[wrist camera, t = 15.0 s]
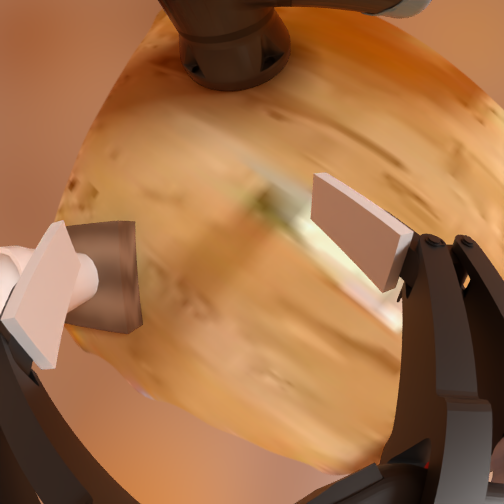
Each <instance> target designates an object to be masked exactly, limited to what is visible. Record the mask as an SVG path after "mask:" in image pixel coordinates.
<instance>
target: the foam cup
mask: <svg viewBox="0 0 504 504" xmlns="http://www.w3.org/2000/svg"><path fill="white" fill-rule="evenodd" d="M34 251H35V249H30V248H25V247H21V246H5V247H0V314H1V312H2V310H3V307H4V306H5V303H6V301H7V299H8V296H9V294H10V292H11V290H12V288H13V287H14V286H15V284H16V283H17V282H18V280H19V278H20V276H21V274H22V272H23V270H24V268H25V267H26V265H27V263H28V261H29V259H30V258H31V256H32V254H33V252H34ZM76 254H77V257H78V259H79V261H80V264H81V266H80V269H79V273H78V276H77V279H76V282H75V285H74V289H73V292H72V295H71V299H70V303H69V306H68V310H67V313H68V312H70V311H71V310H73V309H75V308H76V307H78V306H80V305H81V304H83V303H85V302H86V301H88V300H90V298H92V297H93V296H94V294H95V293H96V292H97V287H98V282H99V280H98V273H97V269H96V267H95V265H94V263H93V261H92V260H91V259H90V258H89V257H88V256H87V255H86V254H82V253H76Z"/></svg>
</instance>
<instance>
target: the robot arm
mask: <svg viewBox="0 0 504 504" xmlns="http://www.w3.org/2000/svg"><path fill="white" fill-rule="evenodd" d="M158 1H159V3H160V4H161V6H162V8H163V9H164V11H165V12H166V14H167V15H168V17H169V18H170V20H171V21H172V23H173V25H174V26H175V28H176V29H177V31H178V33H179V47H180V59H181V62H182V65H183V67H184V68H185V70H186V71H187V73H188V74H189V76H190V77H191V78H192V79H193V80H194V81H195V82H197V83H198V84H200V85H202V86H204V87H207V88H210V89H214V90H220V91H236V90H243V89H248V88H251V87H254V86H257V85H260V84H262V83H264V82H266V81H268V80H270V79H271V78H273V77H274V76H275V75H277V74H278V73H279V72H280V71H281V70H282V69H283V67H284V66H285V65H286V63H287V61H288V59H289V56H290V36H289V33H288V30H287V28H286V27H285V25H284V23H283V22H282V20H281V18H280V17H279V15H278V14H277V12H276V11H275V9H274V7H318V8H331V9H341V10H350V11H357V12H361V13H362V14H366V15H370V16H380V15H381V16H387V17H392V18H409V17H412V16H415V15H417V14H419V13H420V12H422V10H424V9H425V8H426V7H427V6H428V5H429V3H430V2H431V1H432V0H158ZM311 220H312V221H313V222H314V223H315V224H316V225H317V226H319V227H320V228H321V229H322V230H323V231H324V232H325V233H326V234H327V235H328V236H329V237H330V238H331V239H332V240H333V241H334V242H335V243H336V244H337V245H338V246H339V247H340V248H341V249H342V250H343V251H344V252H345V253H346V255H347V256H348V257H349V258H350V259H351V260H352V261H353V262H354V263H355V264H356V265H357V266H358V267H359V268H360V269H361V270H362V271H363V272H364V273H365V274H366V275H367V277H368V278H369V279H370V280H371V281H372V282H373V283H374V284H375V285H376V286H377V287H378V288H379V290H380V291H381V292H382V293H383V292H386V291H389V290H391V289H394V288H395V287H396V285H397V282H398V279H399V276H400V277H401V278H402V279H403V280H404V283H403V286H402V289H401V291H400V294H399V296H398V299H397V302H399V301H400V299H401V298H402V307H403V328H402V356H401V371H400V382H399V391H398V400H397V407H396V414H395V420H394V426H393V431H392V434H391V436H390V438H389V440H388V441H387V443H386V445H385V447H384V450H383V453H382V456H381V460H380V464H379V465H377V466H376V464H375V463H373V464H371V465H369V466H367V467H365V468H363V469H361V470H359V471H357V472H355V473H353V474H350V475H348V476H346V477H344V478H342V479H340V480H338V481H335V482H333V483H331V484H328V485H326V486H324V487H321V488H319V489H317V490H315V491H313V492H312V493H311V494H309V495H307V496H306V497H304V498H303V499H301V500H300V501H298V502H296V503H295V504H504V281H503V280H502V278H501V276H500V275H499V273H498V272H497V270H496V269H495V268H494V266H493V265H492V263H491V262H490V260H489V259H488V258H487V256H486V255H485V253H484V252H483V251H482V249H481V248H480V247H479V245H478V244H477V243H476V242H475V241H474V240H472V239H471V238H470V237H469V236H466V235H465V236H464V235H457V236H456V237H455V240H454V243H453V245H446V243H445V242H444V241H443V240H442V239H440V238H439V237H437V236H434V235H432V234H422V235H421V236H420V235H419V234H417V233H416V232H415V231H413V230H412V229H411V228H409V227H408V226H407V225H405V224H404V223H403V222H401V221H400V220H399V219H397V218H395V217H394V216H393V215H392V214H390V213H389V212H387V211H385V210H383V209H382V208H380V207H379V206H377V205H376V204H374V203H373V202H371V201H370V200H368V199H367V198H365V197H364V196H362V195H361V194H359V193H358V192H356V191H355V190H353V189H352V188H350V187H349V186H347V185H345V184H344V183H342V182H341V181H339V180H337V179H336V178H334V177H333V176H331V175H329V174H328V173H326V172H325V173H314V177H313V193H312V208H311ZM80 266H81V264H80V261H79V259H78V257H77V254H76V252H75V249H74V247H73V245H72V242H71V239H70V237H69V234H68V232H67V229H66V226H65V223H64V220H62V221H58V222H55V223H52V224H51V225H50V227H49V228H48V230H47V231H46V233H45V234H44V236H43V238H42V239H41V241H40V242H39V244H38V246H37V247H36V249H35V251H34V252H33V254H32V256H31V258H30V259H29V261H28V263H27V265H26V267H25V268H24V270H23V272H22V274H21V276H20V278H19V280H18V282H17V283H16V284H15V286H14V287H13V288H12V290H11V292H10V294H9V296H8V299H7V301H6V303H5V306H4V307H3V310H2V312H1V314H0V504H41V503H40V501H39V499H38V497H37V495H38V496H39V498H40V499H41V501H42V502H43V503H44V504H140V503H139V502H138V501H136V500H135V499H134V498H133V497H132V496H131V495H130V494H129V493H128V492H127V491H126V490H124V489H123V488H122V487H121V486H120V485H119V484H118V483H117V482H116V481H115V480H114V479H113V478H112V477H111V476H110V475H109V474H108V473H107V471H106V470H105V469H104V468H103V467H102V466H101V465H100V464H99V463H98V462H97V460H96V459H95V458H94V457H93V456H92V455H91V454H90V452H89V451H88V450H87V449H86V448H85V447H84V445H83V444H82V443H81V441H80V440H79V439H78V437H77V436H76V435H75V434H74V432H73V431H72V429H71V428H70V427H69V425H68V424H67V423H66V421H65V420H64V418H63V417H62V415H61V414H60V413H59V411H58V409H57V408H56V406H55V405H54V403H53V402H52V400H51V398H50V397H49V395H48V393H47V392H46V390H45V388H44V387H43V385H42V383H41V382H40V380H39V378H38V376H37V374H36V373H35V372H34V371H33V370H32V369H31V366H32V362H33V361H34V362H35V363H36V365H37V366H38V367H39V368H40V369H41V370H42V369H55V368H56V362H57V356H58V351H59V345H60V340H61V336H62V331H63V327H64V322H65V318H66V314H67V310H68V306H69V303H70V299H71V295H72V292H73V289H74V285H75V282H76V279H77V276H78V273H79V269H80ZM467 275H469V277H470V282H469V284H468V286H467V287H466V289H465V287H464V285H463V284H464V282H465V280H466V278H467ZM428 462H429V466H428V469H427V468H424V467H425V465H426V464H427V463H428ZM492 471H493V477H492V481H491V482H488V480H489V472H492ZM36 493H37V494H36Z"/></svg>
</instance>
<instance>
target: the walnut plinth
mask: <svg viewBox="0 0 504 504" xmlns="http://www.w3.org/2000/svg"><path fill="white" fill-rule="evenodd" d="M66 229H67V232H68V234H69V237H70V239H71V242H72V245H73V247H74V249H75V252H76V253H82V254H86V255H87V256H88V257H89V258H90V259H91V260H92V261H93V263H94V265H95V267H96V269H97V273H98V280H99V282H98V287H97V292H96V293H95V294H94V296H93V297H92V298H90V300H88V301H86V302H85V303H83V304H81V305H80V306H78V307H76V308H75V309H73V310H71V311H70V312H68V313H67V314H66V318H65V322H64V323H67V324H71V325H76V326H82V327H87V328H93V329H98V330H104V331H111V332H117V333H124V334H129V333H131V332H132V331H134V330H135V329H137V328H138V327H140V326H141V325H143V322H142V315H141V306H140V297H139V287H138V275H137V261H136V242H135V222H133V221H110V222H100V223H91V224H82V225H73V226H66Z"/></svg>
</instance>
